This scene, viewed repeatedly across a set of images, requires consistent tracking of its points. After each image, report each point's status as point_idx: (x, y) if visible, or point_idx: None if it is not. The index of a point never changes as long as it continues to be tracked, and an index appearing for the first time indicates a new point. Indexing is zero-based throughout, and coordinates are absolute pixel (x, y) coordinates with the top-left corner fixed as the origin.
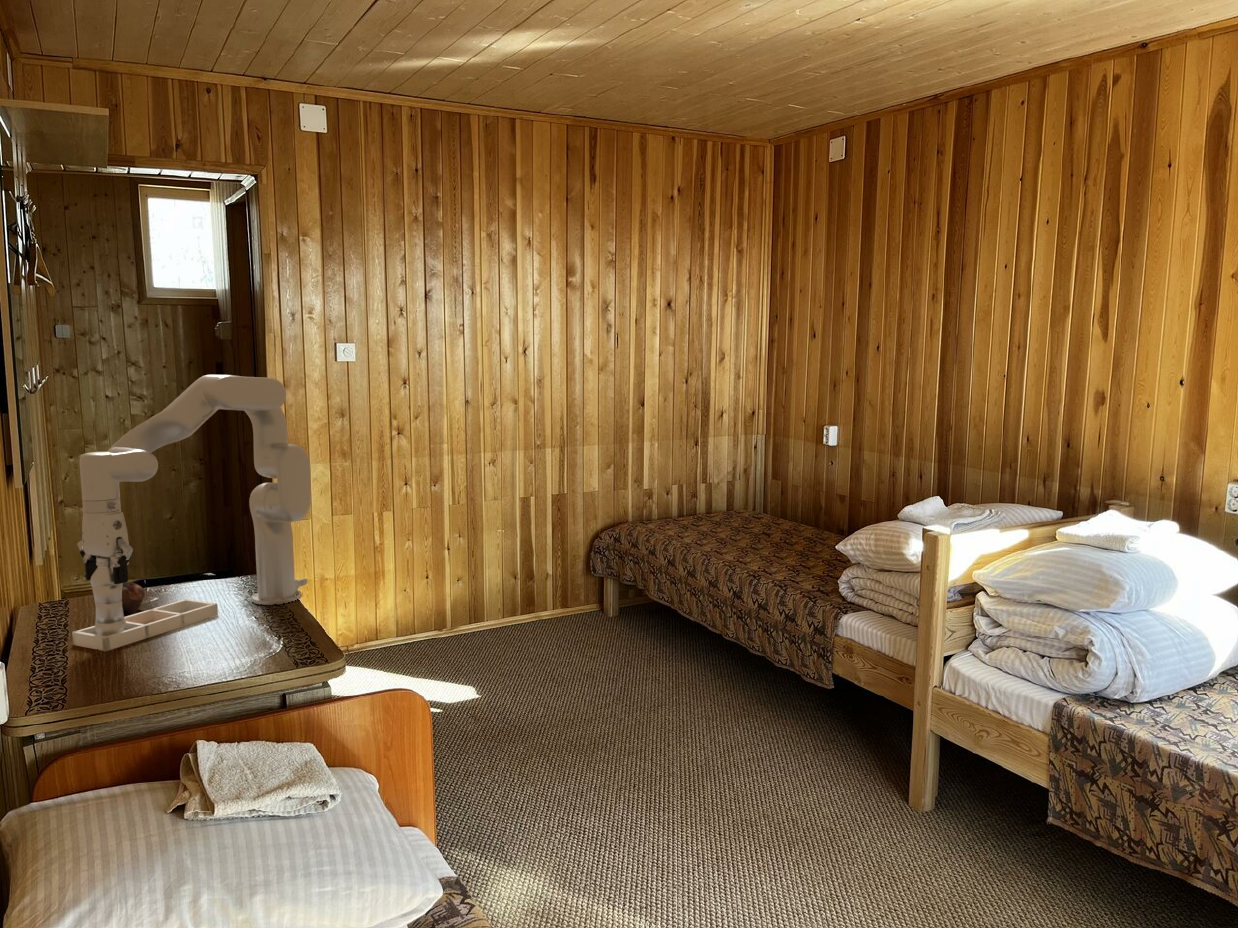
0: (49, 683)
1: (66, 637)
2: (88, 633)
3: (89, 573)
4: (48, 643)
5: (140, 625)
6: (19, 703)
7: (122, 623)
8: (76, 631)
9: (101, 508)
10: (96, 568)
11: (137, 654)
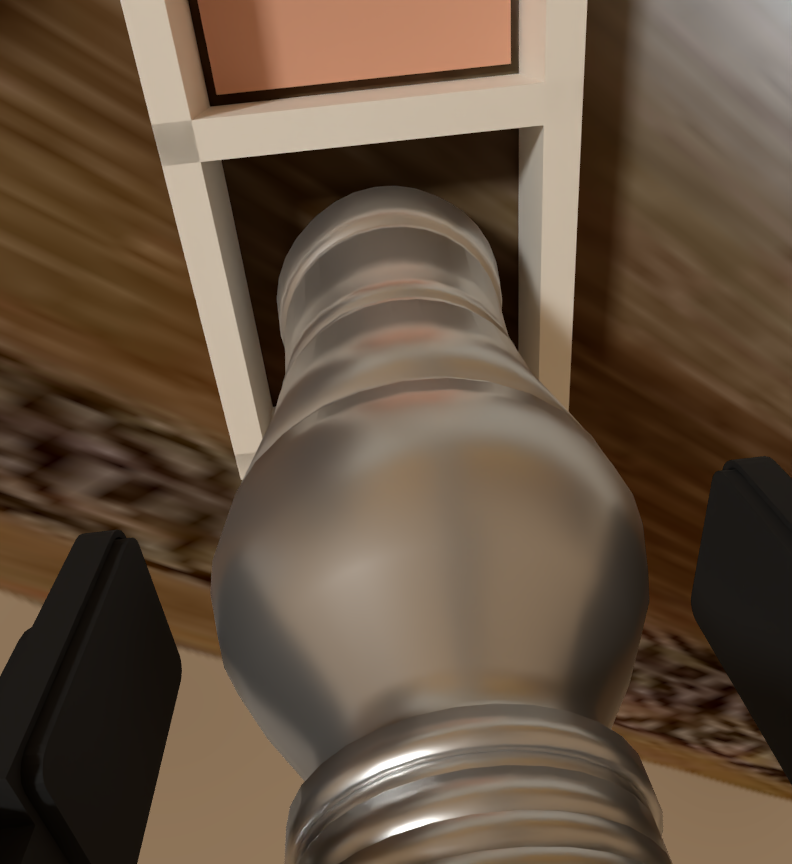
0: (691, 696)
1: (38, 377)
2: None
3: (160, 734)
4: (94, 485)
5: (529, 125)
6: (757, 791)
7: (496, 282)
8: (248, 459)
9: None
10: (101, 696)
11: (772, 341)
